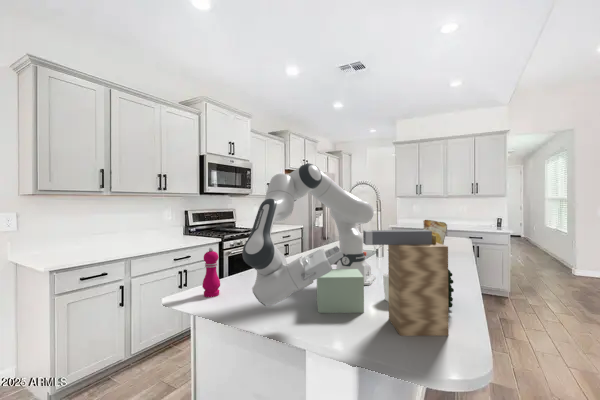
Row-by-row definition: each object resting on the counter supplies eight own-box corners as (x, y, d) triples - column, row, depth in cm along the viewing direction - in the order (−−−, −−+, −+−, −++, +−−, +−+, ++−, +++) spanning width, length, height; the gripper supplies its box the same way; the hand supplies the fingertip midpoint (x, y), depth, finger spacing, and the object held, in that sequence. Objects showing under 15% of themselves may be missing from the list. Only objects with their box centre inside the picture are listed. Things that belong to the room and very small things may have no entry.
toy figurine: (461, 318, 105) (442, 290, 129) (462, 265, 103) (443, 246, 127) (431, 316, 107) (419, 289, 131) (432, 264, 105) (419, 246, 129)
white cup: (401, 305, 114) (401, 278, 114) (380, 301, 118) (380, 275, 118) (406, 299, 121) (406, 273, 121) (386, 295, 125) (386, 271, 125)
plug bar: (365, 245, 93) (365, 231, 93) (363, 242, 97) (363, 230, 97) (431, 244, 93) (431, 230, 93) (426, 242, 97) (426, 229, 97)
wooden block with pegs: (400, 335, 89) (399, 238, 89) (388, 319, 101) (388, 233, 101) (448, 335, 89) (448, 237, 89) (431, 319, 101) (430, 232, 101)
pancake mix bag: (429, 271, 165) (429, 219, 165) (449, 280, 146) (448, 222, 146) (417, 271, 165) (417, 219, 164) (435, 281, 146) (435, 222, 145)
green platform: (318, 312, 107) (318, 277, 107) (316, 301, 119) (316, 269, 119) (364, 312, 107) (363, 277, 107) (357, 300, 119) (357, 268, 119)
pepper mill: (223, 293, 130) (223, 246, 130) (213, 298, 124) (213, 249, 123) (209, 291, 133) (208, 245, 133) (198, 296, 126) (198, 248, 126)
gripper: (295, 271, 85) (339, 246, 85) (297, 257, 105) (332, 237, 105) (307, 291, 85) (350, 266, 85) (306, 273, 105) (341, 253, 105)
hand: (340, 250), depth 95 cm, fingers open, 8 cm apart
